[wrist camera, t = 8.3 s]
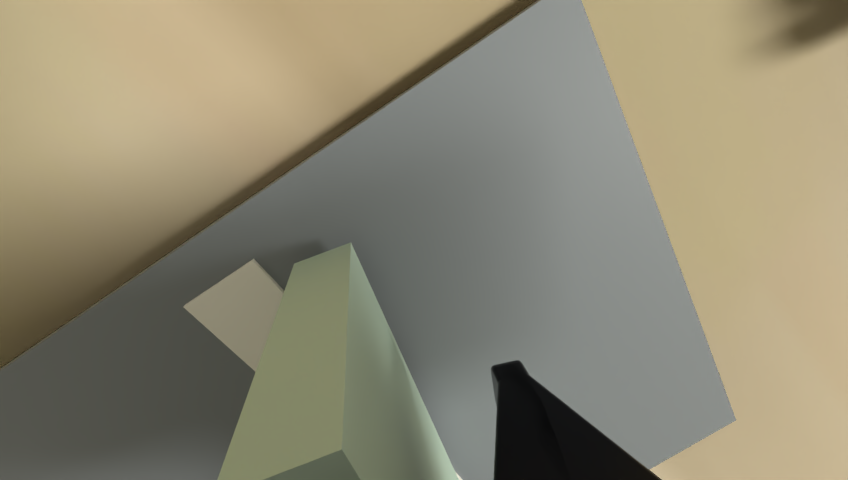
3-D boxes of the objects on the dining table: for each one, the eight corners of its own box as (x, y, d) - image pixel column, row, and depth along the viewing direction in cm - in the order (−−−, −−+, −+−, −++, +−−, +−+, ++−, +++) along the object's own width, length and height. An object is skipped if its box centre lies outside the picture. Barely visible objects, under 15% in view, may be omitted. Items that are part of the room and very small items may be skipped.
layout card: (286, 658, 14) (283, 680, 14) (-121, 451, 9) (-152, 475, 8) (722, 408, 13) (738, 422, 12) (560, -16, 8) (576, -24, 7)
